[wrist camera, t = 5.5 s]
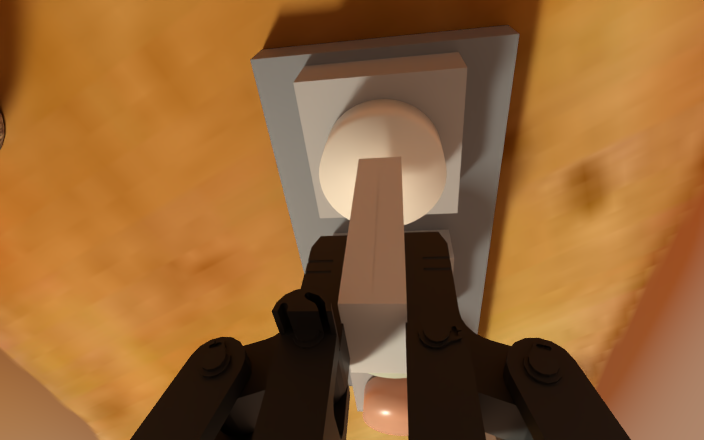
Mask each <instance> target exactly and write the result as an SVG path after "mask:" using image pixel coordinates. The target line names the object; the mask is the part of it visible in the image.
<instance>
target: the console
mask: <svg viewBox="0 0 704 440" xmlns="http://www.w3.org/2000/svg"><path fill="white" fill-rule="evenodd" d="M518 40H519V33H518V32H516V31H515V30H514V29H513V28H511V27H510V26H509V25H503V26H493V27H483V28H473V29H463V30H453V31H443V32H432V33H422V34H412V35H402V36H392V37H382V38H372V39H362V40H352V41H342V42H332V43H322V44H312V45H302V46H292V47H282V48H272V49H262V50H261V51H260V52H259V53H257V54H256V55H255V56H254V57H253V58H252V59H251V64H252V68H253V72H254V76H255V80H256V84H257V88H258V92H259V96H260V100H261V104H262V108H263V112H264V116H265V120H266V124H267V128H268V132H269V136H270V140H271V144H272V148H273V151H274V155H275V159H276V163H277V167H278V171H279V175H280V179H281V183H282V187H283V191H284V195H285V199H286V203H287V207H288V211H289V215H290V219H291V223H292V227H293V231H294V235H295V239H296V242H297V246H298V250H299V254H300V258H301V262H302V266H303V270H304V274H305V270H306V266H307V263H308V258H309V255H310V251H311V247H312V246H313V245H314V244H315V242H316V241H317V240H318V239H319V238H320V236H340V235H348V229H349V222H350V220H348V219H347V218H345V217H343V216H342V215H341V214H340V213H338V212H337V211H336V210H335V209H334V208H333V207H332V206H331V204H330V203H329V202H328V200H327V199H326V197H325V195H324V193H323V191H322V188H321V184H320V179H319V166H320V161H321V158H322V154H323V151H324V148H325V145H326V142H327V139H328V136H329V133H330V131H331V129H332V127H333V125H334V124H335V123H336V121H337V120H338V119H339V118H340V117H341V116H342V115H343V114H344V113H345V112H346V111H348V110H349V109H351V108H352V107H354V106H356V105H358V104H360V103H363V102H366V101H370V100H376V99H392V100H398V101H402V102H405V103H408V104H410V105H412V106H414V107H416V108H417V109H419V110H420V111H421V112H423V113H424V114H425V115H426V116H427V117H428V118H429V119H430V120H431V122H432V123H433V124H434V126H435V128H436V130H437V132H438V134H439V137H440V141H441V145H442V149H443V154H444V158H445V163H446V168H447V177H446V184H445V187H444V190H443V193H442V195H441V197H440V198H439V200H438V202H437V203H436V204H435V205H434V207H433V208H432V209H431V210H430V211H429V212H428V213H426V214H425V215H424V216H422V217H421V218H419V219H417V220H416V221H414V222H411V223H409V224H406V225H404V233H405V232H439V233H440V234H441V236H442V237H443V238H444V239H445V241H446V242H447V243H448V249H449V255H450V261H451V267H452V272H453V278H454V284H455V290H456V296H457V302H458V307H459V312H460V315H461V318H462V320H463V321H464V323H465V324H466V326H467V327H468V328H470V329H471V330H472V331H473V332H474V333H476V334H478V327H479V320H480V313H481V305H482V298H483V291H484V284H485V277H486V270H487V262H488V255H489V248H490V241H491V234H492V227H493V219H494V212H495V205H496V198H497V191H498V184H499V176H500V169H501V162H502V155H503V148H504V141H505V134H506V126H507V119H508V112H509V105H510V98H511V91H512V83H513V76H514V69H515V62H516V55H517V48H518ZM374 377H376V376H374V375H371V374H368V373H351V369H350V366H349V376H348V384H349V386H353V390H354V395H355V400H356V405H357V411H363V404H364V389H365V385H366V384H367V382H368V381H370V380H371V379H372V378H374Z"/></svg>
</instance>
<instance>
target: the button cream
mask: <svg viewBox="0 0 704 440" xmlns="http://www.w3.org/2000/svg"><path fill="white" fill-rule="evenodd" d="M400 156H401V162H402V189H403V216H404V225H406V224H409V223H411V222H414V221H416V220H417V219H419V218H421V217H422V216H424V215H425V214H426V213H428V212H429V211H430V210H431V209H432V208H433V207H434V205H435V204H436V203H437V202H438V200H439V198H440V197H441V195H442V193H443V190H444V187H445V184H446V177H447V168H446V163H445V158H444V154H443V149H442V145H441V141H440V137H439V134H438V132H437V130H436V128H435V126H434V124H433V123H432V122H431V120H430V119H429V118H428V117H427V116H426V115H425V114H424V113H423V112H421V111H420V110H419V109H417V108H416V107H414V106H412V105H410V104H408V103H405V102H402V101H398V100H392V99H376V100H370V101H366V102H363V103H360V104H358V105H356V106H354V107H352V108H351V109H349V110H348V111H346V112H345V113H344V114H343V115H342V116H341V117H340V118H339V119H338V120H337V121H336V123H335V124H334V125H333V127H332V129H331V131H330V133H329V136H328V139H327V142H326V145H325V148H324V151H323V154H322V158H321V161H320V166H319V179H320V184H321V188H322V191H323V193H324V195H325V197H326V199H327V200H328V202H329V203H330V204H331V206H332V207H333V208H334V209H335V210H336V211H337V212H338V213H340V214H341V215H342V216H343V217H345V218H347V219H348V220H350V215H351V209H352V202H353V195H354V188H355V181H356V175H357V168H358V161H359V159H365V158H383V157H400Z"/></svg>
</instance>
